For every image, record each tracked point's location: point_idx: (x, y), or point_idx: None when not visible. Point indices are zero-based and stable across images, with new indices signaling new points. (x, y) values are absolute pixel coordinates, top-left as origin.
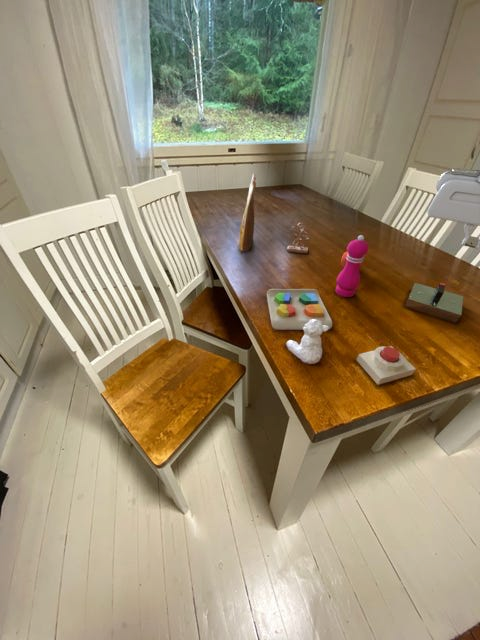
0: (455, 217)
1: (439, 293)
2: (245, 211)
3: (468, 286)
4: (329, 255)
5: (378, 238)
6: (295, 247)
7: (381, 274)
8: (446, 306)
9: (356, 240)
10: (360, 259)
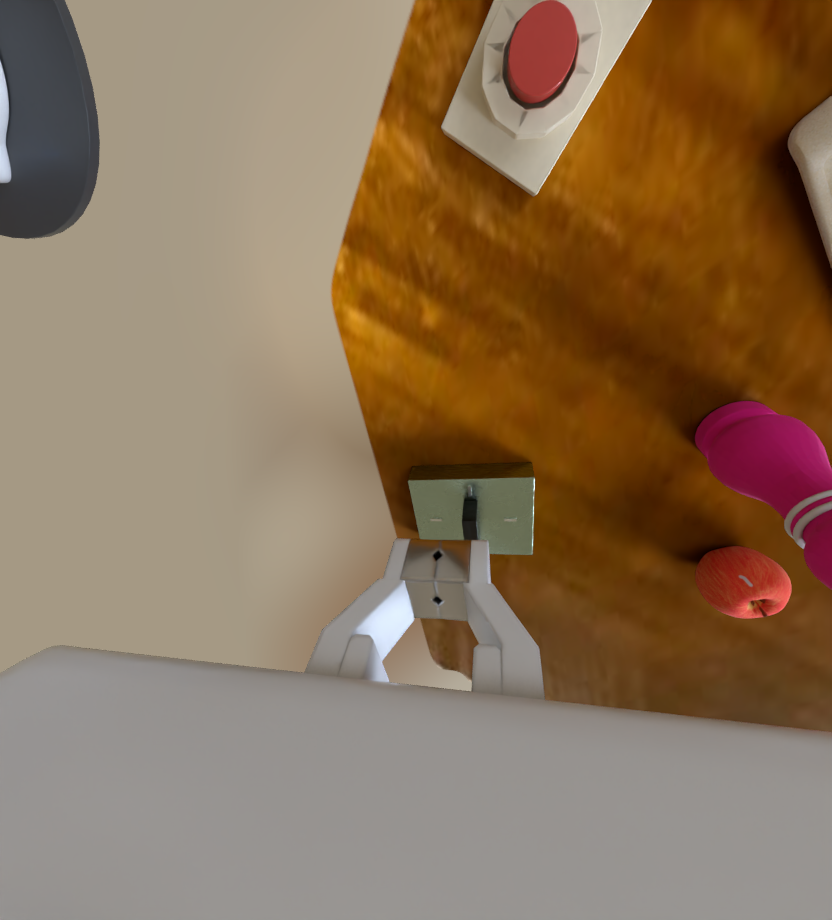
0: (732, 775)
1: (470, 518)
2: None
3: None
4: (807, 595)
5: (647, 703)
6: None
7: (617, 568)
8: (443, 495)
9: None
10: (816, 510)
